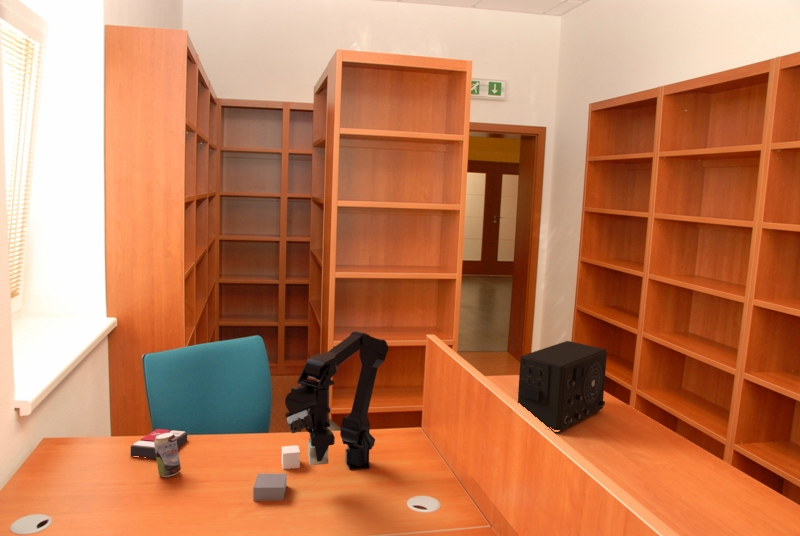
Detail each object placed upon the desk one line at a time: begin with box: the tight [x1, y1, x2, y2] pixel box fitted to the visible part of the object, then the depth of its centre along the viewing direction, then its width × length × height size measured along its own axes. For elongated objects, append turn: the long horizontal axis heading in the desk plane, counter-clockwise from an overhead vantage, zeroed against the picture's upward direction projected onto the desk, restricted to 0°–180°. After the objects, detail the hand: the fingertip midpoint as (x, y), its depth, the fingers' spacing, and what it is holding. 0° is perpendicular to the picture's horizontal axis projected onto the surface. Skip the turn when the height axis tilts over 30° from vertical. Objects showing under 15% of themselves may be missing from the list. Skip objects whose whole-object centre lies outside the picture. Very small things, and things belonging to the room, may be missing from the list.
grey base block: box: [252, 472, 288, 502], centre depth 168 cm, size 8×8×4 cm
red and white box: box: [130, 428, 188, 460], centre depth 193 cm, size 11×4×15 cm
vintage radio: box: [517, 340, 608, 432], centre depth 229 cm, size 38×20×25 cm, turn 136°
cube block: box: [307, 440, 329, 466], centre depth 170 cm, size 5×5×5 cm
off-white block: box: [281, 445, 301, 470], centre depth 185 cm, size 5×5×5 cm
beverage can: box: [154, 432, 182, 478], centre depth 176 cm, size 6×7×12 cm
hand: (317, 456), depth 170 cm, fingers closed on cube block, 5 cm apart
